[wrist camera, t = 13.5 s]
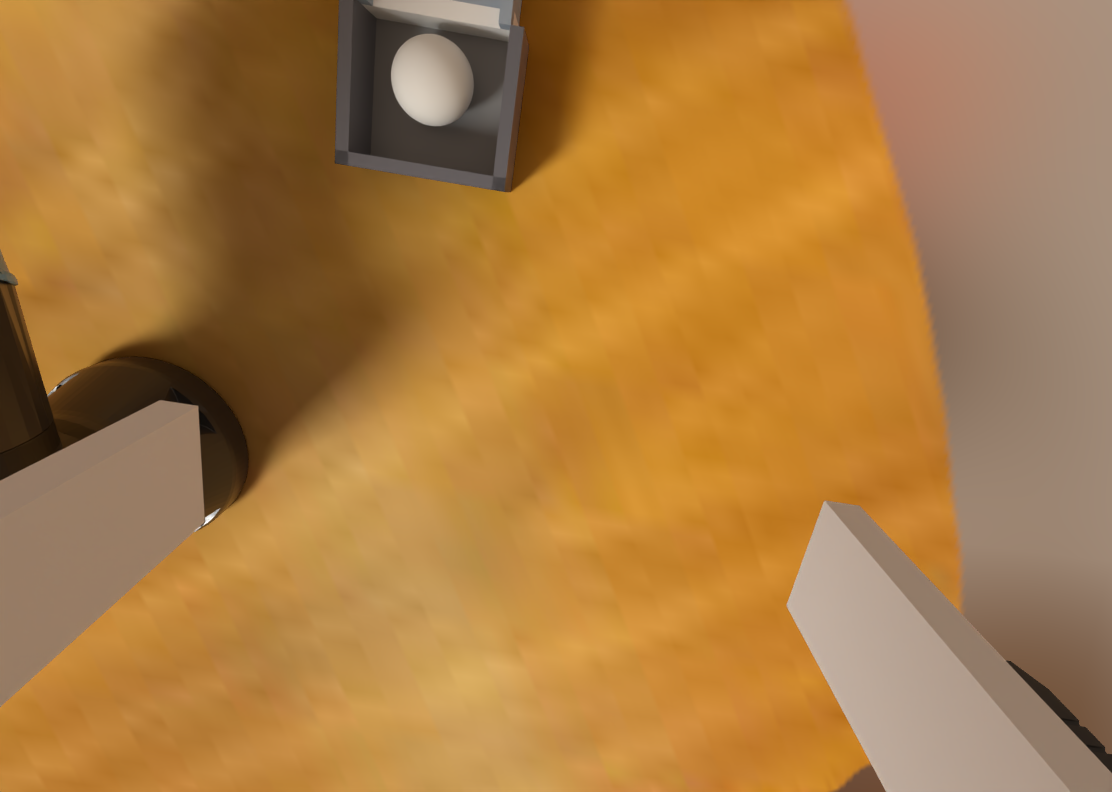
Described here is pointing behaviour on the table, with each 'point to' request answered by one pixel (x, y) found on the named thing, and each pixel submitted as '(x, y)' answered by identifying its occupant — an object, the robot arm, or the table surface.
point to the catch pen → (407, 145)
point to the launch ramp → (452, 15)
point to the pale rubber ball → (432, 79)
